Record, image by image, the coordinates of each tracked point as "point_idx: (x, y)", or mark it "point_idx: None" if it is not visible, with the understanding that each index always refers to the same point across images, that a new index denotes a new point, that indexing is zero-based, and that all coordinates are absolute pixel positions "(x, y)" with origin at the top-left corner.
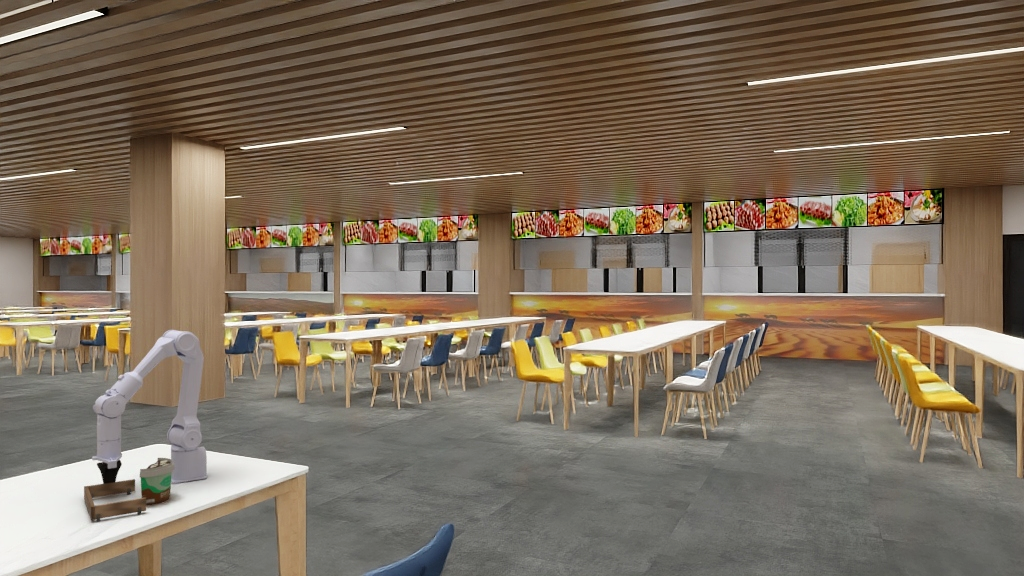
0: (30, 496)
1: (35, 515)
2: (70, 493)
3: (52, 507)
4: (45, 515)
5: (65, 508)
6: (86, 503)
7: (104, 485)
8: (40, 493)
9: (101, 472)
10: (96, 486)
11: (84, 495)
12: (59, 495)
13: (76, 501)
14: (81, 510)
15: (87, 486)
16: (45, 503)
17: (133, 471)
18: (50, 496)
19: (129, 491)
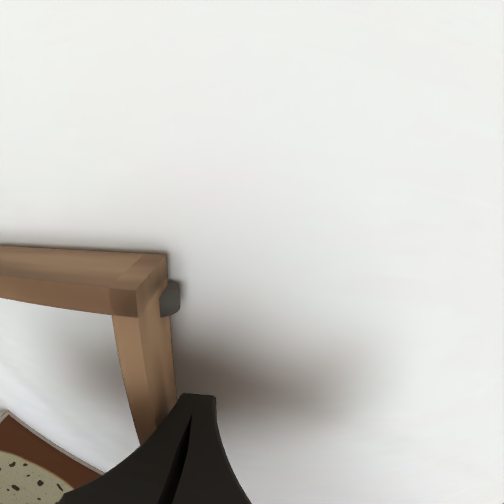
0: (469, 15)
1: (53, 4)
2: (419, 197)
3: (136, 59)
4: (22, 49)
5: (68, 133)
6: (11, 250)
7: (133, 409)
8: (499, 68)
9: (96, 478)
10: (123, 367)
11: (126, 262)
12: (415, 129)
13: (184, 203)
14: (3, 215)
15: (122, 314)
16: (267, 23)
17: (498, 440)
18: (423, 81)
19: None
